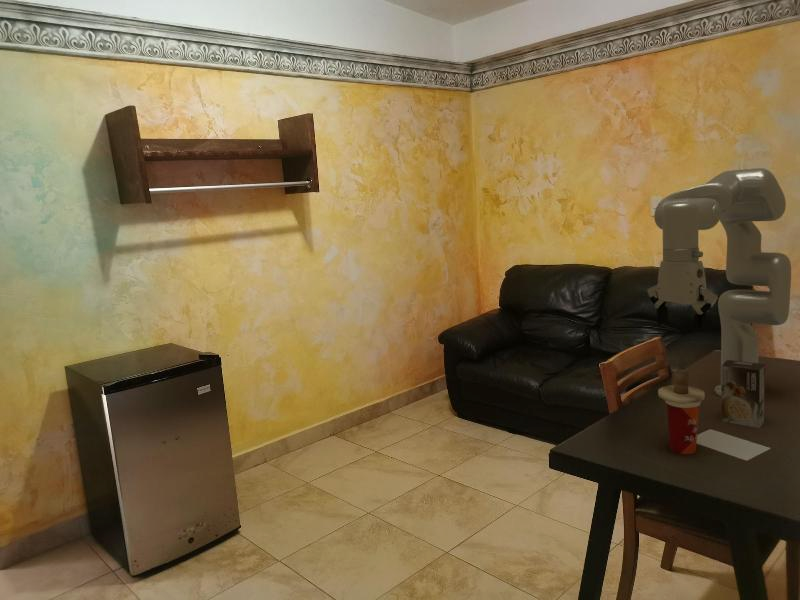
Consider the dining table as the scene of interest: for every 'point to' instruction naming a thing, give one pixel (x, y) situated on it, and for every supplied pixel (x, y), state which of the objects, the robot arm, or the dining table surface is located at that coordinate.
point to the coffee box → (743, 393)
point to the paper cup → (683, 426)
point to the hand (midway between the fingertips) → (680, 326)
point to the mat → (730, 444)
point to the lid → (681, 390)
